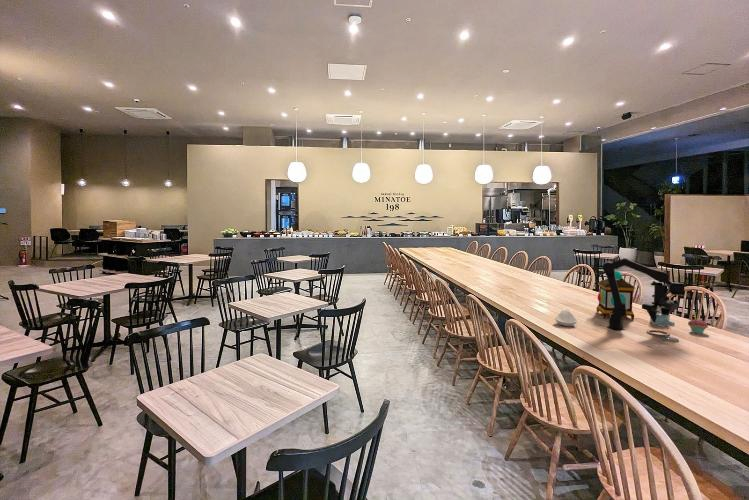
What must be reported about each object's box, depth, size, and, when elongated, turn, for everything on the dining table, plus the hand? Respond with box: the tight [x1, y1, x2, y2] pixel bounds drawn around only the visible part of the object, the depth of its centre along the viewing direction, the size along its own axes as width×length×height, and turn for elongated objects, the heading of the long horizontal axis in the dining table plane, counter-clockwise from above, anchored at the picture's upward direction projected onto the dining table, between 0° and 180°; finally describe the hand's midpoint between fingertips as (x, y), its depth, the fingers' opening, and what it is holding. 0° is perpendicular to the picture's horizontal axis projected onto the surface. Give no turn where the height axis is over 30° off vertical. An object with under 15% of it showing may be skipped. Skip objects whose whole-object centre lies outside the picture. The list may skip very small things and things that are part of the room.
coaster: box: [658, 336, 680, 343], centre depth 205 cm, size 9×9×1 cm
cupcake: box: [687, 311, 709, 334], centre depth 216 cm, size 9×8×12 cm
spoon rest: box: [555, 308, 578, 327], centre depth 240 cm, size 24×12×7 cm, turn 158°
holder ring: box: [646, 329, 671, 337], centre depth 215 cm, size 10×10×1 cm
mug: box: [652, 313, 676, 327], centre depth 211 cm, size 11×7×6 cm, turn 7°
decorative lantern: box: [596, 270, 636, 321], centre depth 252 cm, size 20×20×30 cm
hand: (659, 321), depth 214 cm, fingers closed on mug, 7 cm apart
